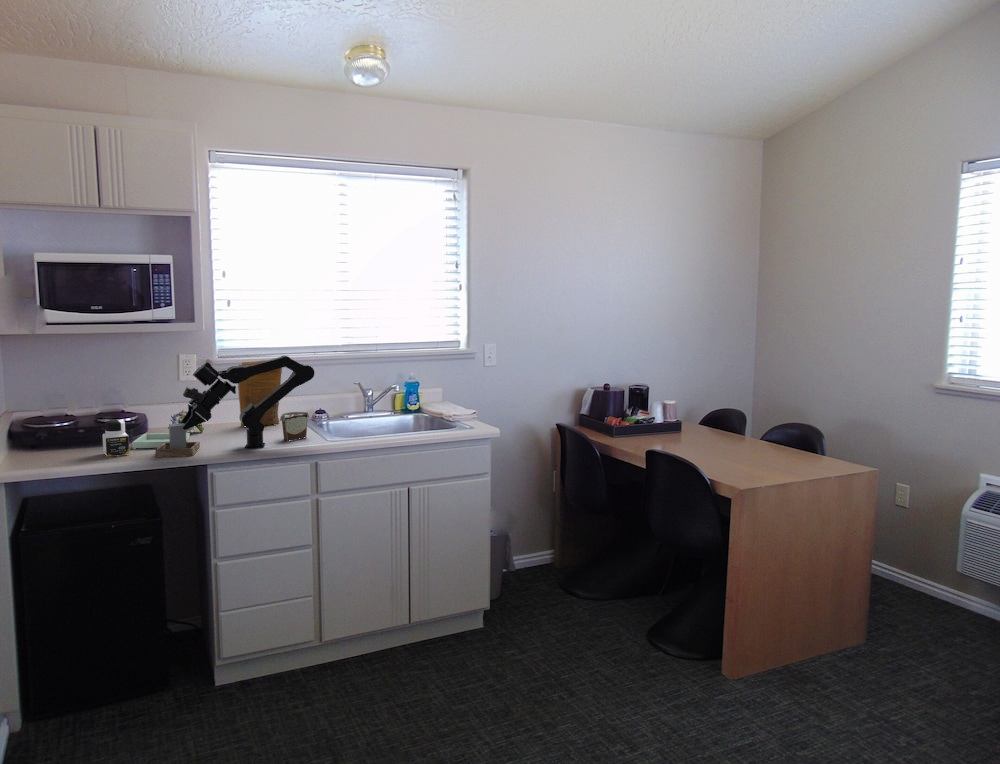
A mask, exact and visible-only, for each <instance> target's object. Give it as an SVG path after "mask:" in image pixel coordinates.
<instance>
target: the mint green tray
mask: <svg viewBox="0 0 1000 764" xmlns="http://www.w3.org/2000/svg"><path fill="white" fill-rule="evenodd" d="M190 436H191V435H190V432H187V433H186V442H187V441H188V440H189V439H191V437H190ZM189 441H190V440H189ZM189 441H188V442H189ZM163 443H170V439H169V432H165V433H162V432H161V433H160V432H159V433H157V432H156V433H144V434H142V435H141V436H139V437H137V438H136V439H135V440H133V441H132V442H131V444H132V447H131V448H132V450H137V449H136V448H158V447H159V446H161V445H162V444H163Z"/></svg>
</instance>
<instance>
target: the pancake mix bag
mask: <svg viewBox="0 0 1000 764" xmlns="http://www.w3.org/2000/svg"><path fill="white" fill-rule="evenodd" d="M267 360H268V359H267ZM267 360H258V361H243V362H241V364H238V366H243V365H252V364H256V363H260V362H264V361H267ZM282 373H283V367H282V368H279V369H275V370H272V371H268V372H264V373H261V374H257V375H254V376H252V377H250V378H248V379H247V380H244V381H242V382H240V383H237V390H238V401H239V412H240V413H241V412H242V409H244V408H246V407H247V406H248V405H249V404H250V403H252V404H253V405H255V404H258V403H259V402H261V401H262V400H263V399H264V398H265V397H267V396H268V395H269V394H270V393H271V392H273V391H274V390H275V389H276V388H278V387H279V386H280V385H281V384H282ZM279 405H280V401H279V402H277V403H276V404H275V405H274V406H273V407H271V408H270V409H269V410H268V411H267V412H266V413H265V414H264V416H263V417H262V419H261V420H260V422H261V423H262V424H263V425H268V426H272V425H271V424H277V423H279V422H280V418H279ZM279 424H280V423H279ZM277 425H278V424H277ZM241 426H244V425H243V424H242V423H241V422H240V427H241Z"/></svg>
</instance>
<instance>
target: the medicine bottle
mask: <svg viewBox="0 0 1000 764" xmlns="http://www.w3.org/2000/svg"><path fill="white" fill-rule="evenodd" d="M104 428H105V429H104V430H105V431H104V432H105V433H103V434H102V449H103V455H104V454H105V455H106V456H117V455H127V454H129V455H130V438H129V437H130V436H129V434H127V432H126V422H125V421H124V420H122V419H112V420H108V421H105V423H104ZM105 455H104V456H105ZM106 456H105V457H106ZM127 456H128V455H127ZM117 457H118V456H117Z"/></svg>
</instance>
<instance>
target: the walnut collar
mask: <svg viewBox="0 0 1000 764" xmlns="http://www.w3.org/2000/svg"><path fill="white" fill-rule="evenodd" d="M200 443H201V442H200V441H188V442H186V449H170V443H163V444H162V445H161V446H159V447H158V448H157V449H154V450H155V451H154V452H155V457H156V456H171V457H193V456H194V455H195V454H196V453H197V452H198V451H199V450H200V449H199V448H200V445H201V444H200ZM198 449H199V450H198ZM197 450H198V451H197Z"/></svg>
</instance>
